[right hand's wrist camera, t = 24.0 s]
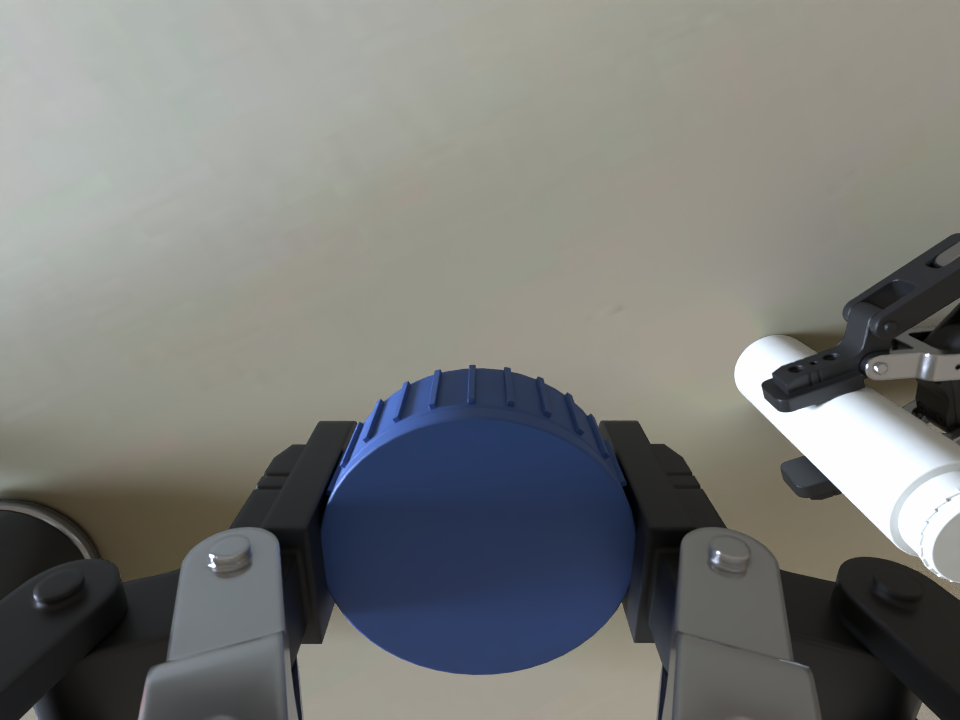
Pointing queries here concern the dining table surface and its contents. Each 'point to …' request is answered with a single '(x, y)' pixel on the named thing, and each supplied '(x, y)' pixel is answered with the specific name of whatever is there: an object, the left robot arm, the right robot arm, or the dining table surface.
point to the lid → (478, 524)
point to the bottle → (871, 457)
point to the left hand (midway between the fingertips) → (781, 441)
